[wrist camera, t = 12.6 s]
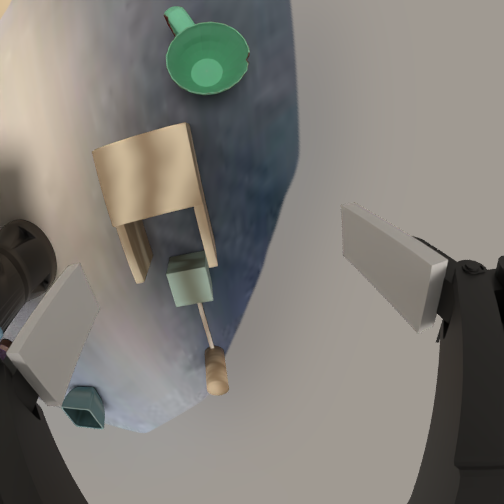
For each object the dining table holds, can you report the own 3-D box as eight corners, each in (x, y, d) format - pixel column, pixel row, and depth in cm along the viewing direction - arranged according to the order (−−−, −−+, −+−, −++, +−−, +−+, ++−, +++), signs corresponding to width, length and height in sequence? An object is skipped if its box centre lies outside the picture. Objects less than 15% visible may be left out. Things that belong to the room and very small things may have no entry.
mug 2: (252, 82, 37) (265, 69, 28) (195, 115, 38) (193, 110, 29) (202, 13, 31) (203, -15, 22) (146, 44, 32) (132, 23, 23)
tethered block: (202, 361, 57) (204, 397, 48) (170, 257, 46) (163, 288, 37) (230, 356, 58) (235, 392, 49) (204, 250, 47) (205, 280, 38)
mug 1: (3, 353, 49) (-14, 383, 38) (-1, 334, 46) (-21, 365, 36) (32, 366, 52) (17, 400, 41) (29, 348, 49) (11, 382, 39)
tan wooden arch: (146, 257, 46) (135, 287, 37) (115, 145, 38) (91, 150, 28) (214, 241, 47) (218, 269, 38) (189, 124, 38) (184, 121, 29)
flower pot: (68, 380, 55) (59, 406, 47) (96, 381, 56) (89, 409, 48) (82, 401, 58) (75, 426, 50) (109, 402, 60) (104, 429, 51)
